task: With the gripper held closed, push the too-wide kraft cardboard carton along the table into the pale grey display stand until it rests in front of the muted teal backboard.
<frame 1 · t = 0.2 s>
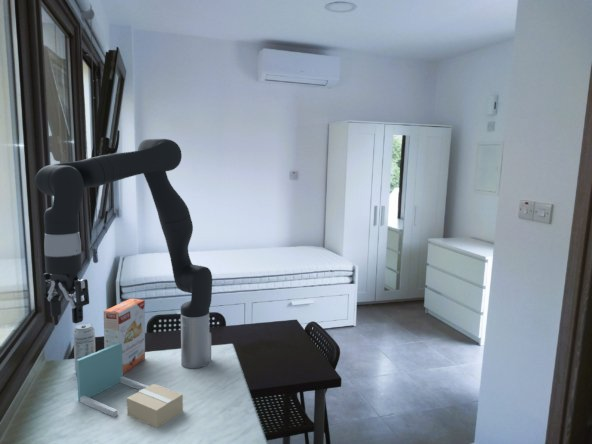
hand: (66, 318, 103), 29 cm above the table, fingers open, 8 cm apart
kraft carton: (155, 413, 115), on the table
energy drink can: (85, 372, 137), on the table
display stand: (118, 397, 122), on the table
cracker box: (126, 367, 141), on the table
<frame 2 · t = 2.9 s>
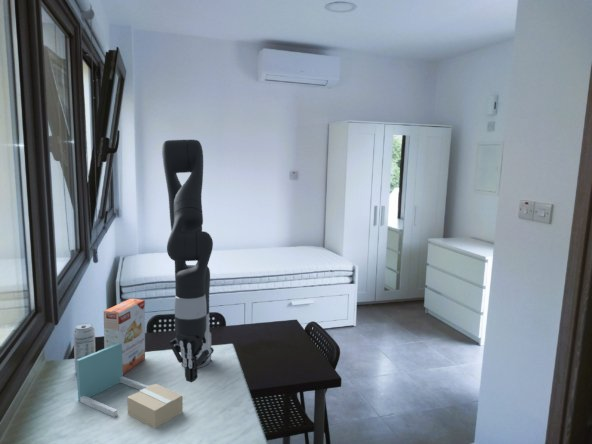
hand: (191, 380, 107), 13 cm above the table, fingers closed
nothing on the table moved.
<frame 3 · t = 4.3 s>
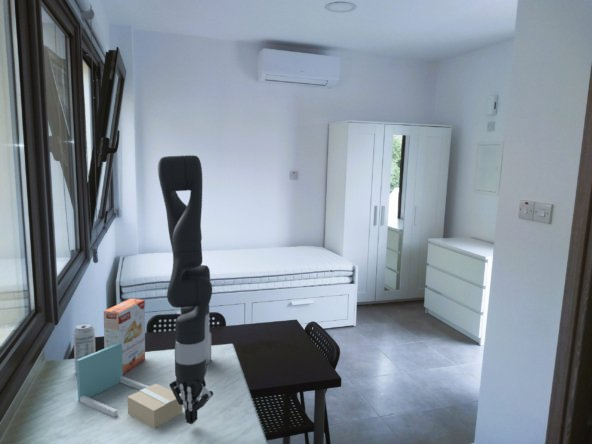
hand: (191, 421, 109), 1 cm above the table, fingers closed
nothing on the table moved.
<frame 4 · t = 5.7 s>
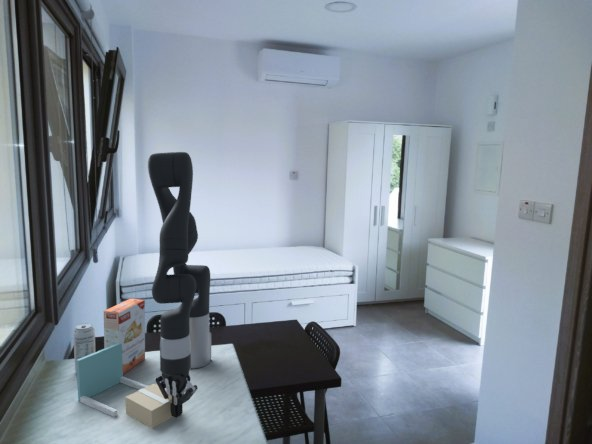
hand: (176, 415, 111), 1 cm above the table, fingers closed
kraft carton: (153, 413, 115), on the table, touching gripper
everything else where it was.
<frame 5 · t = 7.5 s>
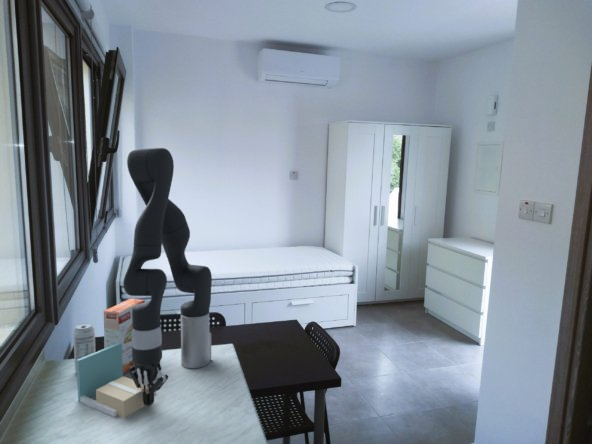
hand: (148, 404, 116), 2 cm above the table, fingers closed
kraft carton: (124, 405, 119), on the table, touching display stand, gripper
everything else where it was.
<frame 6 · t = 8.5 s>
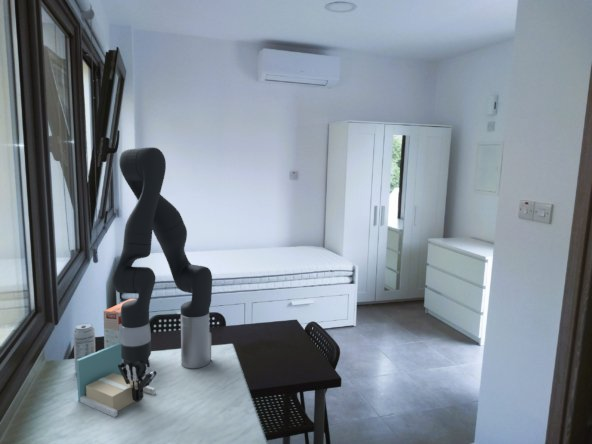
hand: (137, 399, 118), 2 cm above the table, fingers closed
kraft carton: (113, 400, 121), on the table
everything else where it was.
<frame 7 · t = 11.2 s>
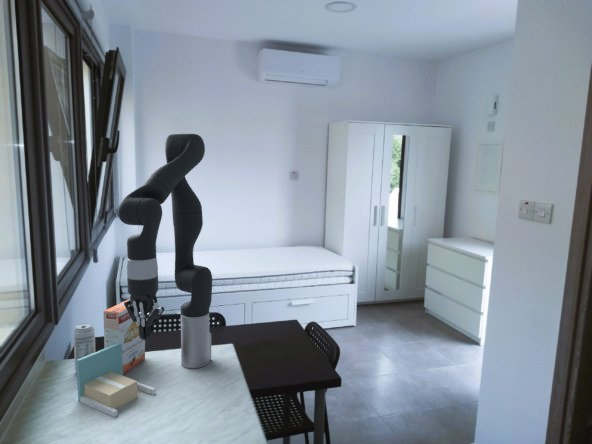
hand: (144, 338, 114), 20 cm above the table, fingers closed
kraft carton: (111, 399, 122), on the table
everything else where it was.
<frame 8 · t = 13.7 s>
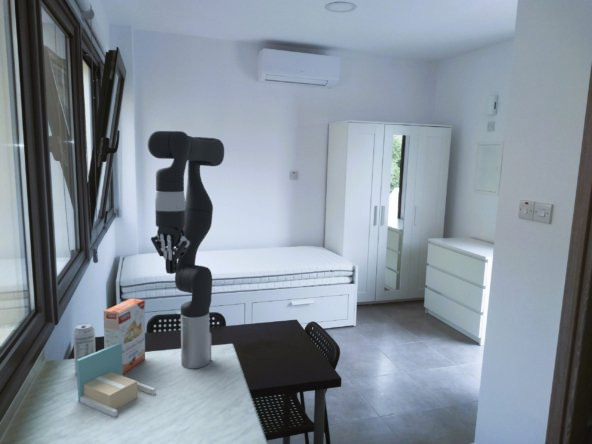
hand: (171, 272, 115), 37 cm above the table, fingers closed
nothing on the table moved.
at the end: kraft carton 1.7 cm off-centre on the display stand, point 0.0 cm above the display stand's base; kraft carton tilted 0°; kraft carton moved 16.0 cm from its start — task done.
